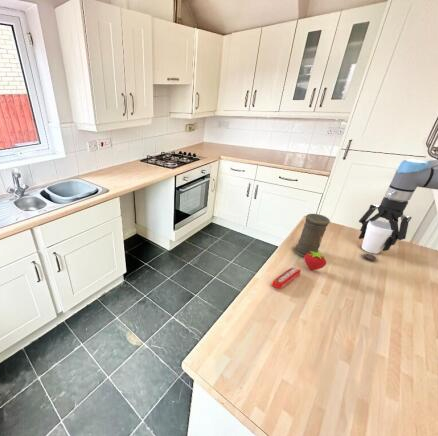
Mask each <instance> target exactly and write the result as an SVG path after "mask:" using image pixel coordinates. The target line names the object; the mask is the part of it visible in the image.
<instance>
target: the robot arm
mask: <svg viewBox="0 0 438 436" xmlns="http://www.w3.org/2000/svg"><path fill="white" fill-rule="evenodd" d="M417 188H424V189H431V190H437V191H438V158H437V159H436V158H435V159H429V160H427V161H426V160H419V159H412V158H410V159H408V158H407V159H403V160H401V162H400V163H399V165H398V167H397V169H396V170H395V173H394V175H393V177H392V180H391V181H390V184H389V186H388V188H387V190H386V192H385V194H384V196H383V197H382V199H381V202H380V204H379V205H378V204H377V203H373V204H370V205H369V208H368V209H367V211H366V212H365V213H364V214H363V215H362V217H361V218H360V219H359V220H358V223H360V224H361V227H360V229H359V230H360V234H359V236H358V239H359V240H362V239H363V240H364V236H365V233H366V229H367V225H368V222H369V221H371V222H372V221H375V220H379V219H380V218H382V219H385V220H387V221H388V222H389V223H390V226H391V230H393V232H392V237H390V238H389V239H388V241H387V243H386V244H385V246H384V247H383V248H382V252H386V251H389V250H390V249H391V246H395V245H396V244H397V242H398V241H403V240H406V238H407V232H408V228H409V222H411V220H412V216H408V215H405V214H404V211H405V210H406V208H407V206H408V205H409V202H410V200H411V199H412V197H413V195H414V193H415V191H416V189H417ZM376 210H377V211H378V212H377V213H376V214H374V213H375V211H376ZM373 214H374V215H373ZM372 215H373V216H372ZM371 216H372V217H371ZM399 218H400V224H399Z"/></svg>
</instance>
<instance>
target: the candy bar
mask: <svg viewBox="0 0 438 436" xmlns="http://www.w3.org/2000/svg"><path fill="white" fill-rule="evenodd" d="M301 271H302V270H301V269H298V268H295V267H290V268H289V269H287V270H285V271H284V272H283V273H282V274H281V275H280V274H279V276H277V277H276V278H275V279H274V280H272V283H271V285H270V286H272V287H274V288H276V289H282V288H284V287H285V286H287V285H288V284H289V283H291V282H292V281H294V280H295V279H296V278H297V277H298V276H300V274H301Z"/></svg>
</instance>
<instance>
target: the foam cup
mask: <svg viewBox="0 0 438 436" xmlns="http://www.w3.org/2000/svg"><path fill="white" fill-rule="evenodd" d="M392 232H393V230H391V226H390V223H389V221H386V220H382V219H377V220H375V221H372V222H371V221H369V222H368V225H367V229H366V233H365V236H364V238H363V240H362V244H361V248H362V250H363V251H365V252H367V253H369V254H379V253H380V252H381V251H383V248H384V246H385V244H386V243H387V241H388V239H389V238H390V237H392Z"/></svg>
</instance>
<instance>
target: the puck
mask: <svg viewBox="0 0 438 436" xmlns="http://www.w3.org/2000/svg"><path fill="white" fill-rule="evenodd" d="M362 258H363V259H364V260H366V261H369V262H375V261H376V260H377V257H376V256H375V255H373V254H372V253H364V254H363V255H362Z"/></svg>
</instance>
